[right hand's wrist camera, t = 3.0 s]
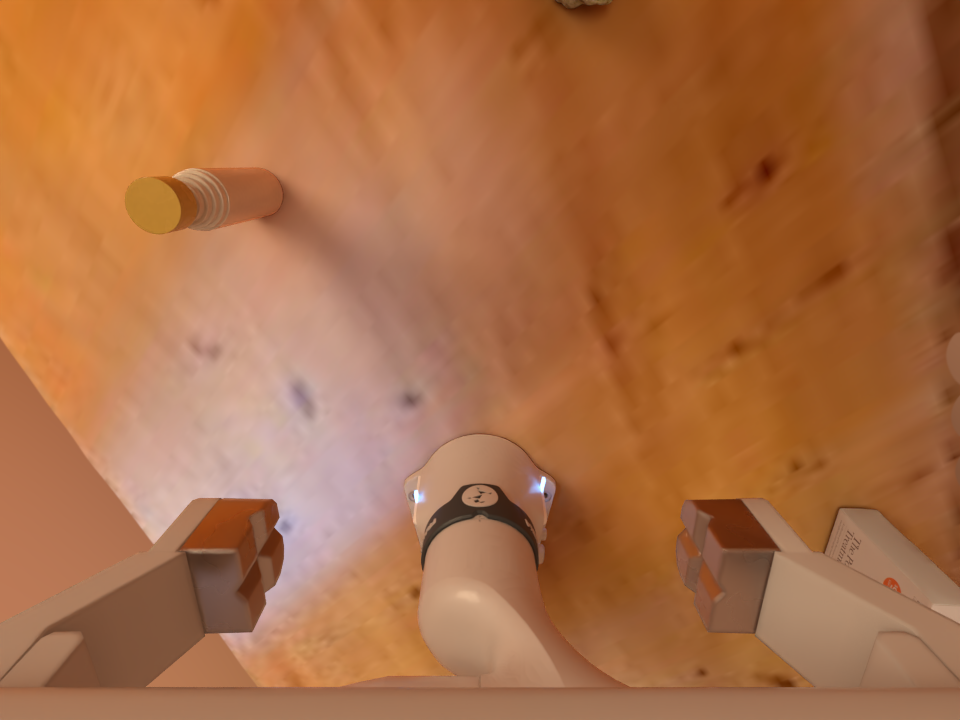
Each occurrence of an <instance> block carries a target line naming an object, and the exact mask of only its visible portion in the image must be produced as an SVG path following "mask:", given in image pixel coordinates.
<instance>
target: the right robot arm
mask: <svg viewBox="0 0 960 720" xmlns="http://www.w3.org/2000/svg"><path fill="white" fill-rule="evenodd" d="M404 491H405V494H406V498H407V501H408V505H409V508H410V512H411V515H412V519H413V523H414V525H415V529H416V532H417V536H418V539H419V543H420V546H421V553H422V554H421V564H422V570H423V578H422V585H421V593H420V600H419V607H418V623H419V628H420V632H421V635H422V637H423V639H424V641H425V643H426V645H427V646H428V648H429V650H430V651H431V653H432V654H433V655H434V657H435V658H436V659H437V661H438V662H439V663H440V664H441V665H442V666H443V667H445V668H446V669H447V670H449V671H450V672H452V673H453V674H455V675H457V676H387V677H382V678H377V679H372V680H367V681H362V682H358V683H354V684H350V685H346V686H342V687H146V686H147V685H148V684H149V683H151V682H152V681H153V680H154V679H155V678H156V677H158V676H159V675H160V674H161V673H162V672H163V671H165V670H166V669H167V668H168V667H169V666H171V665H172V664H173V663H174V662H175V661H176V660H177V659H179V658H180V657H181V656H182V655H183V654H185V653H186V652H187V651H188V650H189V649H190V648H192V647H193V646H194V645H195V644H196V643H197V642H199V641H200V640H201V639H202V638H203V637H205V634H206V633H240V632H252V631H253V629H254V627H255V625H256V623H257V621H258V619H259V617H260V615H261V613H262V611H263V609H264V607H265V605H266V599H265V592H267V591H268V590H269V589H271V588H272V587H274V586H275V585H276V582H277V580H278V578H279V576H280V573H281V569H282V564H283V560H284V544H283V537H282V535H281V534H280V533H279V532H278V531H277V530H276V529H275V528H274V526H275V525H276V523H277V521H278V519H279V512H278V507H277V503H276V502H275V501H274V500H273V499H235V498H224V499H221V498H198V499H195V500H192V501H191V503H190V504H189V505H188V506H187V507H186V508H185V509H184V511H183V512H182V513H181V514H180V515H179V516H178V518H177V519H176V520H175V521H174V522H173V523H172V524H171V526H170V527H169V528H168V529H167V530H166V531H165V533H164V534H163V535H162V536H161V537H160V538H159V540H158V541H157V542H156V543H155V544H154V545H153V546H152V548H151V549H150V550H149V551H148V552H138V553H136V554H134V555H133V556H131V557H129V558H127V559H125V560H123V561H121V562H119V563H117V564H115V565H113V566H111V567H109V568H107V569H105V570H103V571H101V572H99V573H98V574H96V575H94V576H92V577H90V578H88V579H86V580H84V581H82V582H80V583H78V584H76V585H74V586H72V587H70V588H68V589H66V590H64V591H62V592H60V593H58V594H56V595H55V596H53V597H51V598H49V599H47V600H45V601H43V602H41V603H39V604H37V605H35V606H33V607H31V608H29V609H27V610H25V611H23V612H21V613H19V614H17V615H16V616H14V617H12V618H10V619H8V620H6V621H4V622H2V623H0V720H960V623H958V622H956V621H954V620H952V619H950V618H948V617H946V616H944V615H942V614H940V613H938V612H936V611H934V610H932V609H931V608H929V607H927V606H925V605H923V604H921V603H919V602H917V601H915V600H913V599H911V598H909V597H907V596H905V595H903V594H901V593H899V592H897V591H896V590H894V589H892V588H890V587H888V586H886V585H884V584H882V583H880V582H878V581H876V580H874V579H872V578H870V577H868V576H866V575H864V574H862V573H861V572H859V571H857V570H855V569H853V568H851V567H849V566H847V565H845V564H843V563H841V562H839V561H837V560H835V559H833V558H831V557H829V556H827V555H826V554H824V553H822V552H812V551H811V550H810V549H809V548H808V546H807V545H806V544H805V543H804V542H803V541H802V540H801V538H800V537H799V536H798V535H797V534H796V533H795V531H794V530H793V529H792V528H791V527H790V526H789V525H788V523H787V522H786V521H785V520H784V519H783V518H782V516H781V515H780V514H779V513H778V512H777V511H776V510H775V508H774V507H773V506H772V505H771V504H770V503H769V501H767V500H765V499H763V498H741V499H717V500H685V502H684V504H683V506H682V512H681V519H682V521H683V523H684V525H685V526H686V528H685V529H684V530H683V531H682V532H681V533H680V534H679V535H678V537H677V545H676V557H677V566H678V569H679V573H680V576H681V578H682V580H683V582H684V585H685V586H686V587H688V588H689V589H691V590H692V591H693V592H695V599H694V605H695V607H696V609H697V611H698V613H699V615H700V617H701V619H702V621H703V623H704V625H705V627H706V629H707V631H708V632H719V633H754V634H755V636H756V637H757V638H758V639H759V640H760V641H762V642H763V643H764V644H765V645H766V646H767V647H769V648H770V649H771V650H772V651H773V652H774V653H776V654H777V655H778V656H779V657H780V658H781V659H783V660H784V661H785V662H786V663H787V664H788V665H790V666H791V667H792V668H793V669H794V670H796V671H797V672H798V673H799V674H800V675H801V676H803V677H804V678H805V679H806V680H807V681H808V682H810V683H811V684H812V685H813V686H814V687H629V686H627V685H625V684H623V683H621V682H619V681H617V680H615V679H614V678H612V677H610V676H609V675H607V674H605V673H604V672H602V671H601V670H599V669H598V668H597V667H595V666H594V665H593V664H591V663H590V662H589V661H588V660H586V659H585V658H584V657H583V656H582V655H580V654H579V653H578V652H577V651H576V650H575V649H574V648H573V647H572V646H571V645H570V644H569V643H568V642H567V640H566V639H565V638H564V637H563V636H562V635H561V634H560V632H559V631H558V630H557V628H556V627H555V626H554V624H553V623H552V621H551V620H550V618H549V616H548V614H547V612H546V609H545V606H544V602H543V599H542V595H541V591H540V586H539V581H538V576H537V570H538V564H542V563H543V561H544V554H545V549H544V545H542V544H540V543H541V540H544V541H545V540H546V537H547V529H546V528H545V526H546V523H547V519H548V515H549V512H550V508H551V505H552V501H553V498H554V494H555V491H556V482H555V480H554V479H553V478H552V477H551V476H550V475H548V474H547V473H545V472H543V471H542V470H540V469H538V468H537V467H536V466H535V465H534V463H533V462H532V461H531V459H530V458H529V456H528V455H527V454H526V453H525V452H524V451H523V450H522V449H521V448H520V447H518V446H517V445H515V444H514V443H512V442H510V441H508V440H506V439H504V438H501V437H498V436H493V435H487V434H473V435H467V436H462V437H459V438H456V439H454V440H452V441H450V442H448V443H446V444H445V445H443V446H442V447H440V448H439V449H438V450H437V451H436V452H435V453H434V454H433V455H432V456H431V458H430V459H429V461H428V462H427V463H426V465H425V466H424V467H423V468H422V469H420V470H418V471H417V472H415V473H413V474H412V475H410V476H409V477H408V478H407V479H406V480H405V482H404ZM413 493H414V494H413ZM544 493H547V494H546V495H544Z"/></svg>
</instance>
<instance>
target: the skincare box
mask: <svg viewBox="0 0 960 720" xmlns="http://www.w3.org/2000/svg"><path fill="white" fill-rule="evenodd" d="M825 554H826V555H827V556H829V557H831V558H833V559H835V560H837V561H839V562H841V563H843V564H845V565H847V566H849V567H851V568H853V569H855V570H857V571H859V572H861V573H862V574H864V575H866V576H868V577H870V578H872V579H874V580H876V581H878V582H880V583H882V584H884V585H886V586H888V587H890V588H892V589H894V590H896V591H897V592H899V593H901V594H903V595H905V596H907V597H909V598H911V599H913V600H915V601H917V602H919V603H921V604H923V605H925V606H927V607H929V608H931V609H932V610H934V611H936V612H938V613H940V614H942V615H944V616H946V617H948V618H950V619H952V620H954V621H956V622H958V623H960V587H958V586H957V585H956V584H955V583H954V582H953V581H952V580H951V579H950V578H949V577H948V576H947V575H946V574H944V573H943V572H942V571H941V570H940V569H939V568H938V567H937V566H936V565H935V564H934V563H933V562H932V561H931V560H930V559H929V558H928V557H927V556H926V555H925V554H924V553H923V552H922V551H921V550H920V549H918V548H917V547H916V546H915V545H914V544H913V543H912V542H911V541H909V540H908V539H907V538H906V537H905V536H904V535H903V534H902V533H901V532H900V531H898V530H897V529H896V528H895V527H894V526H893V525H892V524H891V523H890V522H889V521H888V520H887V519H886V518H885V517H884V516H883V515H882V514H881V513H880V512H879V511H878V510H871V509H857V508H840V509H839V512H838V515H837V518H836V521H835V524H834V527H833V530H832V533H831V536H830V539H829V542H828V545H827V548H826V551H825Z"/></svg>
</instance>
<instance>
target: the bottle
mask: <svg viewBox="0 0 960 720" xmlns="http://www.w3.org/2000/svg"><path fill="white" fill-rule="evenodd" d="M173 178H176V179H178V180H180V181H181V182H183V183H184V184H186V186H188V188H189V189H190V190H191V191H192V193H193V195H194V197H195V199H196V203H197V214H196V218H195V220H194V221H193V223H192V224H191V225H190V226H189V227H187V228H189V229H193V230H200V231H210V230H214V229H218V228H222V227H226V226H230V225H234V224H238V223H242V222H247V221H251V220H255V219H259V218H263V217H267V216H270V215H272V214H274V213H275V212H277V210H278V209H279V208H280V206H281V204H282V200H283V191H282V187H281V185H280V183H279V181H278V179H277V178H276V177H275V176H274V175H273V174H272V173H271V172H269V171H267V170H265V169H263V168H257V167H250V168H191V169H186V170H183V171H181V172H178V173H177V174H175V175H174V176H173Z"/></svg>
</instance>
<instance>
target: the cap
mask: <svg viewBox="0 0 960 720" xmlns="http://www.w3.org/2000/svg"><path fill="white" fill-rule="evenodd" d="M125 205H126V209H127V212H128V214H129V216H130V218H131V219H132V220H133V222H134V223H135V224H136V225H137V226H139V227H140V228H141V229H143V230H145V231H147V232H149V233H153V234H165V233H170V232H174V231H179V230H183V229H185V228H187V227H189V226H190V225H191V224H192V223H193V221H194V220H195V218H196V214H197V203H196V199H195V197H194V195H193V193H192V191H191V190H190V189H189V188H188V186H186V184H184V183H183V182H181V181H180V180H178V179H176V178H173V177H168V176H160V177H143V178H139V179H137V180H135V181H133V182H132V183H131V184H130V185H129V187H128V189H127V191H126V194H125Z"/></svg>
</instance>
